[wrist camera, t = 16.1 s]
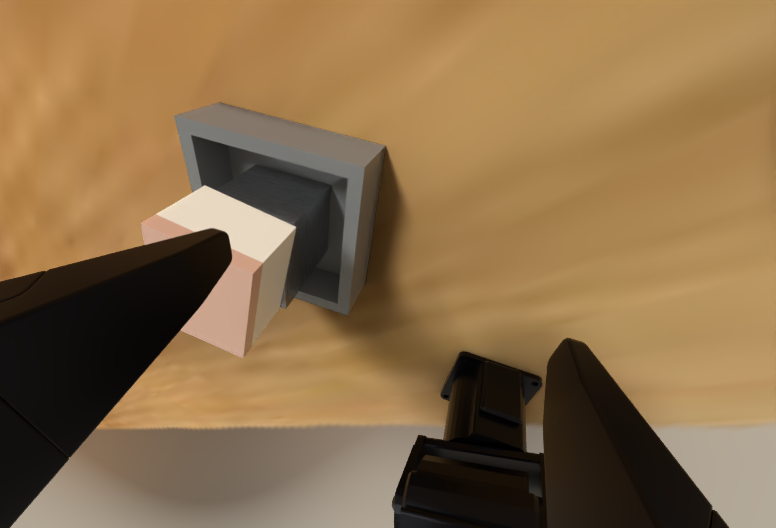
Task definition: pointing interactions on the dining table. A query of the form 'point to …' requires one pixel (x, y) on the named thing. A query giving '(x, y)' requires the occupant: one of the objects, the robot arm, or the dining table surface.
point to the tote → (301, 158)
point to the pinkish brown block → (232, 265)
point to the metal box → (289, 216)
